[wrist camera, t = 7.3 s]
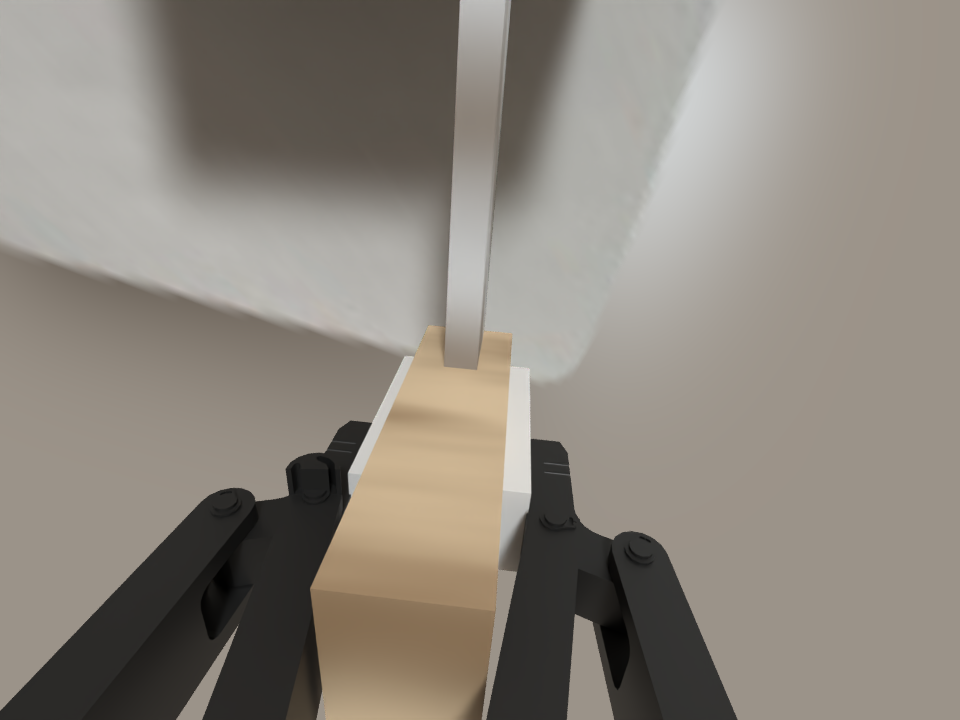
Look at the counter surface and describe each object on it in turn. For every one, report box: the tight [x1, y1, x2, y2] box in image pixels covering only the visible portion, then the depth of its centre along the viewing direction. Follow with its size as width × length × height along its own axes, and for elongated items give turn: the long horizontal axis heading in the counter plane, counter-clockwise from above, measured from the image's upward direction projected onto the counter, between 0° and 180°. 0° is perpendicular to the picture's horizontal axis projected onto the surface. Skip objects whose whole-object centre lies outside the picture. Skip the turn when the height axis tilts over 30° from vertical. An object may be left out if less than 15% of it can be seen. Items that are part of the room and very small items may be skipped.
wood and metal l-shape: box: [310, 0, 512, 720], centre depth 11 cm, size 18×3×11 cm, turn 176°
